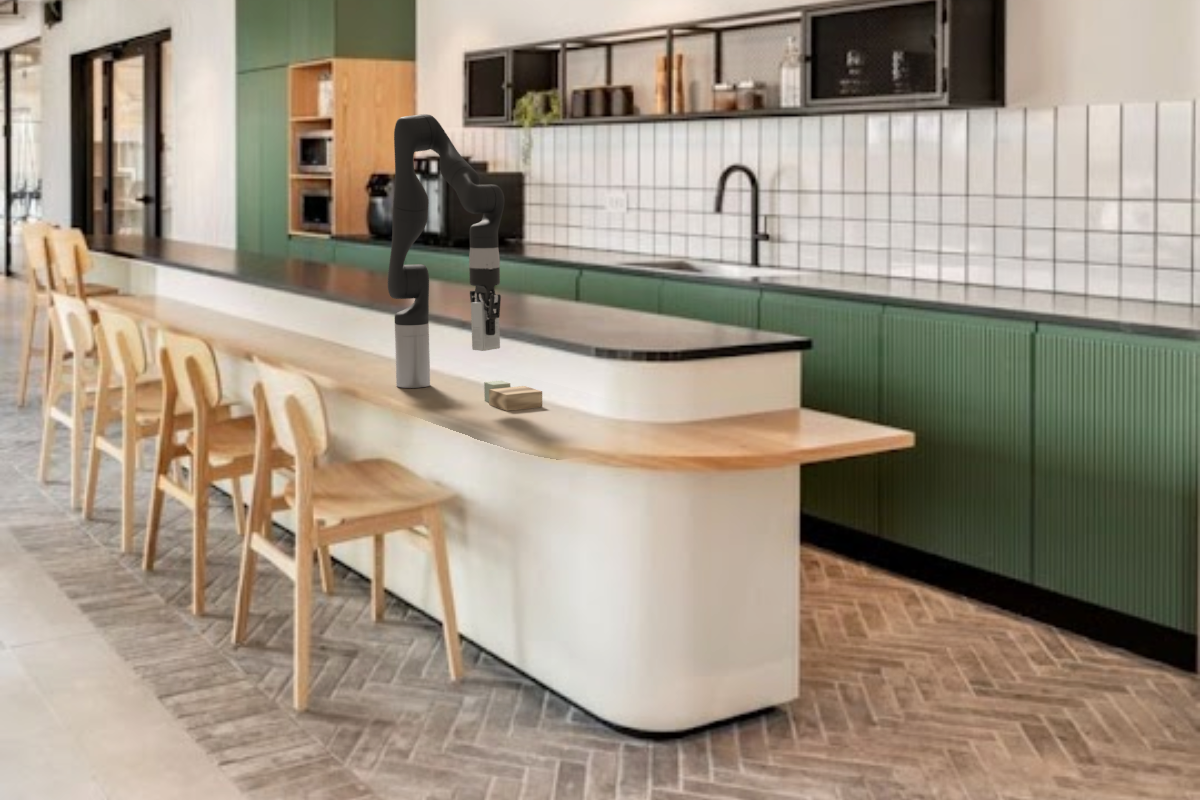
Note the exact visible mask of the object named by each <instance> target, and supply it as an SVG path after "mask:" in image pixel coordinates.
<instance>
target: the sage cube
mask: <svg viewBox="0 0 1200 800" xmlns="http://www.w3.org/2000/svg"><path fill="white" fill-rule="evenodd" d="M483 384H484V386H483V387H484V388H483V390H484V401H485V402H487V403H489V389H497V388H508V387H511V383H510V382H508V381H504V380H494V381H493V380H492V381H484V383H483Z"/></svg>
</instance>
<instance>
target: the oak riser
mask: <svg viewBox="0 0 1200 800" xmlns="http://www.w3.org/2000/svg"><path fill="white" fill-rule="evenodd" d="M488 403H489V406H491V407H495V408H498V409H501V410H504V411H507V412H508V411H518V410H526V409H527V410H528V409H537V408H543V391H541V390H539V389H536V388H532V387H530V386H529V387H528V386H527V385H518V386H510V387H508V388H497V389H489V402H488Z"/></svg>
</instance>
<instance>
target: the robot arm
mask: <svg viewBox="0 0 1200 800" xmlns="http://www.w3.org/2000/svg"><path fill="white" fill-rule="evenodd" d="M393 144H394V145H393V146H394V189H393V192H394V193H393V202H392V236H391V248H390V249H391V250H390V257H389V264H388V273H387V291H388V294H389V296H390V298H392V299H395V300H404V299H405V300H406V299H407V300H408V299H409V300H410V299H412V300H413V299H414V302H413V303H412V304H411V305H410V306H408V307H406V308H405V309H402V310H400V311H398V312H396V313H395V314H394V337H395V338H394V339H395V342H394V343H395V344H394V345H395V379H396V380H395V381H396V382H395V383H396V384H395V385H396V387H398V388H406V389H411V388H412V389H414V388H415V389H417V388H419V389H420V388H425V387H430V386H431V362H430V361H431V360H430V359H431V358H430V326H429V324H430V323H429V321H430V320H429V315H430V314H429V313H430V312H429V311H430V309H429V307H430V306H429V304H430V303H429V299H430V273H429V269H428V268H427V267H426V265H425V264H421V263H419V264H418V263H417V264H404V263H405V262H406V261H405V260H406V258H407V254H408V252H409V251H410V249H411V247H412V246H413V244H414V243H415V242H416V241H417V240H418V238H419V237H420V235H421V234H422V232H423V231H424V229H425V228H426V226H427V223H428V217H429V204H430V203H429V196H428V193H427V191H426V190H425V187H424V186H423V184H422V183H421V181H420V179H419V177H418V175H417V173H416V171H415V166H414V160H415V159H414V155H415V153H416V152H417V153H418V152H424V151H430V150H431V151H433V152H435V153H436V154H437V155H438V156H439V170H440V173H441V175H442V178H443V179H444V180H445V181H446V183H448V184H449V185H450V186H451V188H452V189H453V190H454V191H455V192H456V195H457V197H458V199H459V202H460V204H461V206H462V208H463V209H464V210H465V211H466V212H468V213H470V214H475V215H478V214H483V215H482V218H481V221H479V222H477V223H473V224H472V225H470V228H469V255H468V256H469V257H468V259H469V261H468V263H469V265H468V266H469V268H468V269H469V274H468V275H469V284H470V286H473V287H475V289H474V290H469V297H470V300H469V301H470V303H471V302H481V303H484V304H483V308H484V311H485V317H486V335H495V320H496V318H499V319H500V316H501V315H500V312H501V300H502V299H501V298H502V296H501V294H496V290H495V286H499V285H500V284H501V275H500V274H501V270H500V269H501V268H500V267H501V266H500V258H501V257H500V252H499V251H500V250H499V229H500V225H501V220H502V216H503V211H504V207H505V195H504V192H503V189H501V187H500V186H499V185H497V184H481V178H480V175H479V174H478V172H477V170H475V169H474V168H473V166H471V165H470V164H469V163H468V162H467V161H466V160H465V159H464V157H463V156H461V154H460V153H459V151H458V149H457V148H456V147H455V145H454V144H453V142H452V141H451V139H450V137H449V136H448V134H447V133H446V131H445V129H444V128H443V127H442V125H441V123H440V122H439V121H438V120H437V119H436V118H435V117H434V116H433V115H432V114H426V113H425V114H424V113H423V114H415V115H406V116H401V117H399V118H397V120H396V122H395V125H394V131H393ZM485 303H486V305H487V306H489V307H486V306H485ZM495 310H496V311H495ZM488 311H489V313H488Z"/></svg>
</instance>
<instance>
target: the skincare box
mask: <svg viewBox="0 0 1200 800" xmlns="http://www.w3.org/2000/svg"><path fill="white" fill-rule="evenodd" d="M483 304H484V303H481V302H471V301H470V314H471V315H470V316H471V317H470V318H471V320H470V321H471V347H472V349H471V350H472V351H480V352H486V351H492V350H497V349H500V348H501V339H500V338H501V335H500V334H501V333H500V317H499V318H496V320H495V335H486V317H485V311H484V308H483ZM485 306H486V307H489V306H487V305H486V303H485ZM495 311H496V310H495ZM488 313H489V311H488Z"/></svg>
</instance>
